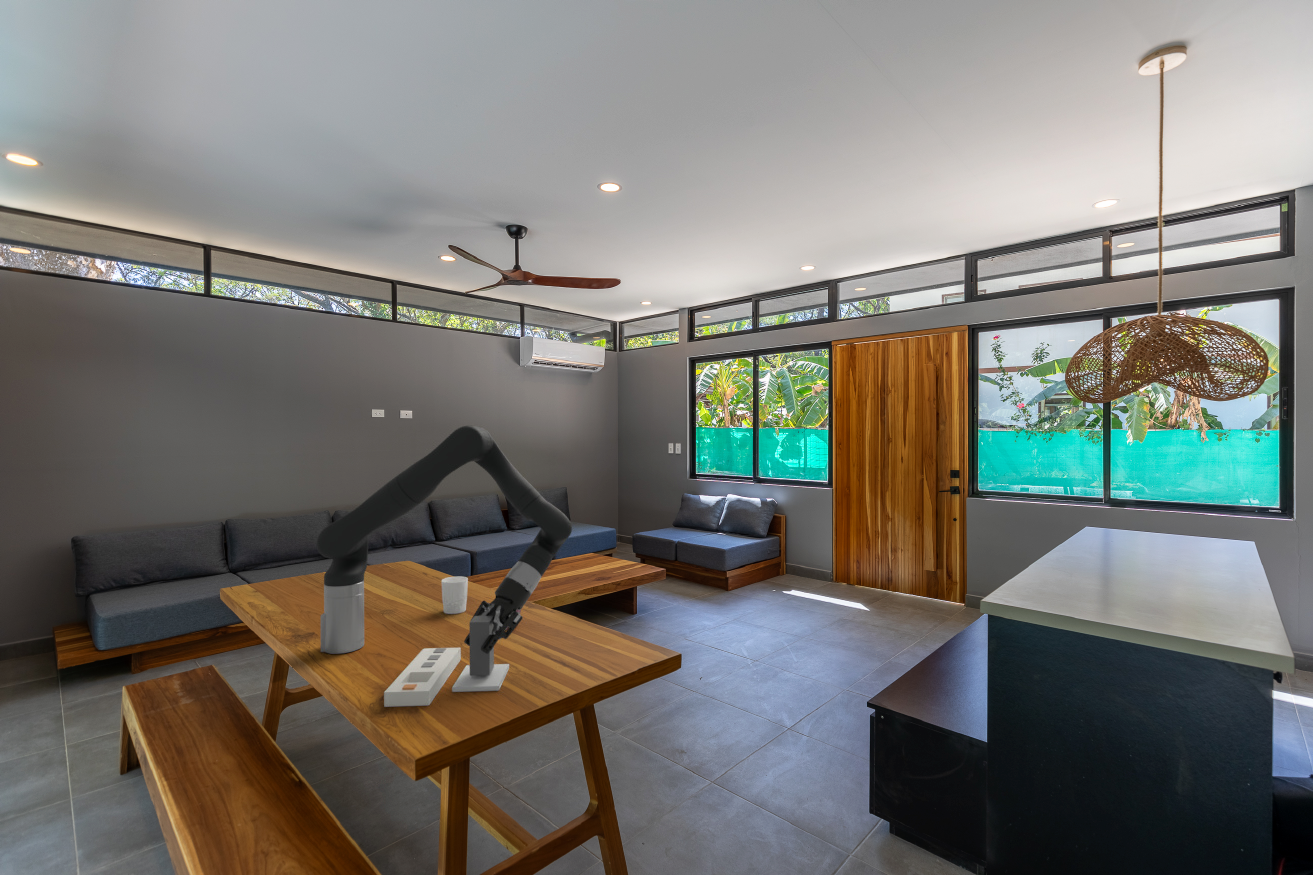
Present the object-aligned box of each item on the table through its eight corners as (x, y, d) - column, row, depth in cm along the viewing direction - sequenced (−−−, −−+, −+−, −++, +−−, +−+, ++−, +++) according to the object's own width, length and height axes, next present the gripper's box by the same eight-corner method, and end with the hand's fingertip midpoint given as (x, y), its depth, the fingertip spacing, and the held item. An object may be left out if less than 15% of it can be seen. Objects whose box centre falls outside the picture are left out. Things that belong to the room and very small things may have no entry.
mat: (452, 691, 125) (452, 687, 125) (466, 669, 137) (466, 664, 137) (498, 690, 126) (498, 685, 126) (509, 668, 138) (509, 663, 138)
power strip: (384, 706, 118) (384, 690, 118) (423, 660, 142) (423, 646, 142) (429, 705, 119) (429, 688, 119) (460, 659, 143) (460, 645, 143)
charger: (469, 675, 129) (469, 622, 129) (474, 667, 133) (474, 616, 133) (489, 675, 129) (489, 621, 129) (493, 667, 134) (493, 615, 134)
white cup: (452, 616, 176) (452, 583, 176) (436, 612, 181) (436, 580, 181) (473, 609, 183) (473, 578, 183) (456, 605, 187) (456, 575, 187)
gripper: (491, 571, 142) (447, 632, 133) (528, 581, 132) (483, 647, 123) (510, 588, 146) (468, 648, 137) (546, 599, 136) (504, 664, 127)
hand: (475, 647), depth 130 cm, fingers closed on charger, 6 cm apart
